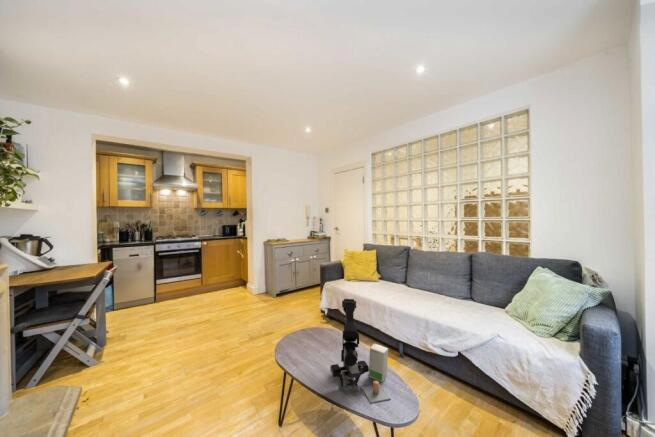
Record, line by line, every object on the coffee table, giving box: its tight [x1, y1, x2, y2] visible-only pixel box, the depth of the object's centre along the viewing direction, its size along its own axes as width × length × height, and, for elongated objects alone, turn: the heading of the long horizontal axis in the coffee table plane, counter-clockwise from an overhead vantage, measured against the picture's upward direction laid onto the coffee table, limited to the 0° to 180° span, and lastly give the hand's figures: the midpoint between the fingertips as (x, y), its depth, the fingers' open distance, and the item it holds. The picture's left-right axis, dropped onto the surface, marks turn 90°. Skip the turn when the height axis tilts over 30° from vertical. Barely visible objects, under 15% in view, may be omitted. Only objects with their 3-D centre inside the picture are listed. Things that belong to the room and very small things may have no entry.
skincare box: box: [368, 343, 389, 383], centre depth 133 cm, size 8×7×16 cm
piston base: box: [362, 380, 391, 404], centre depth 120 cm, size 10×10×6 cm
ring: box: [339, 377, 359, 394], centre depth 124 cm, size 7×7×2 cm
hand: (349, 385), depth 124 cm, fingers closed on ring, 7 cm apart
